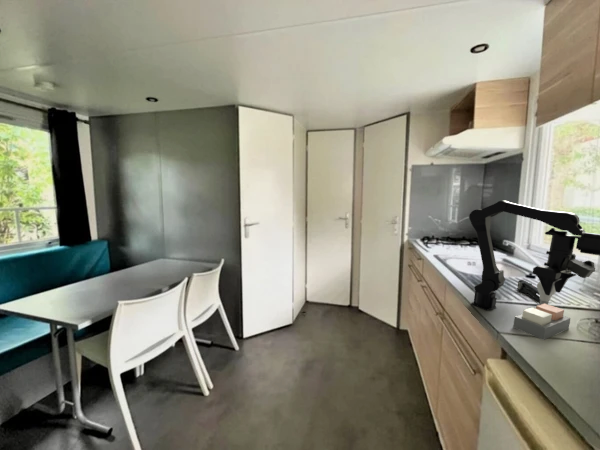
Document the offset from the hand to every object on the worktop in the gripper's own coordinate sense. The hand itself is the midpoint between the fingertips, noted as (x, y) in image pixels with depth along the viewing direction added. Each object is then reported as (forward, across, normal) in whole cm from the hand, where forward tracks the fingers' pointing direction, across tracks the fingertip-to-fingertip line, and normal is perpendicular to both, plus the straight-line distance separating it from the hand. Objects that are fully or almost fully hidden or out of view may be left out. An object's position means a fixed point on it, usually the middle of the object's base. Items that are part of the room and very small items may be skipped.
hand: (552, 293), depth 97 cm
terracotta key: (+10, 0, 0) cm, 10 cm away
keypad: (+12, -4, 0) cm, 13 cm away
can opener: (+12, +27, +17) cm, 34 cm away
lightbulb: (+12, +19, +9) cm, 25 cm away
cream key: (+10, -8, 0) cm, 13 cm away
